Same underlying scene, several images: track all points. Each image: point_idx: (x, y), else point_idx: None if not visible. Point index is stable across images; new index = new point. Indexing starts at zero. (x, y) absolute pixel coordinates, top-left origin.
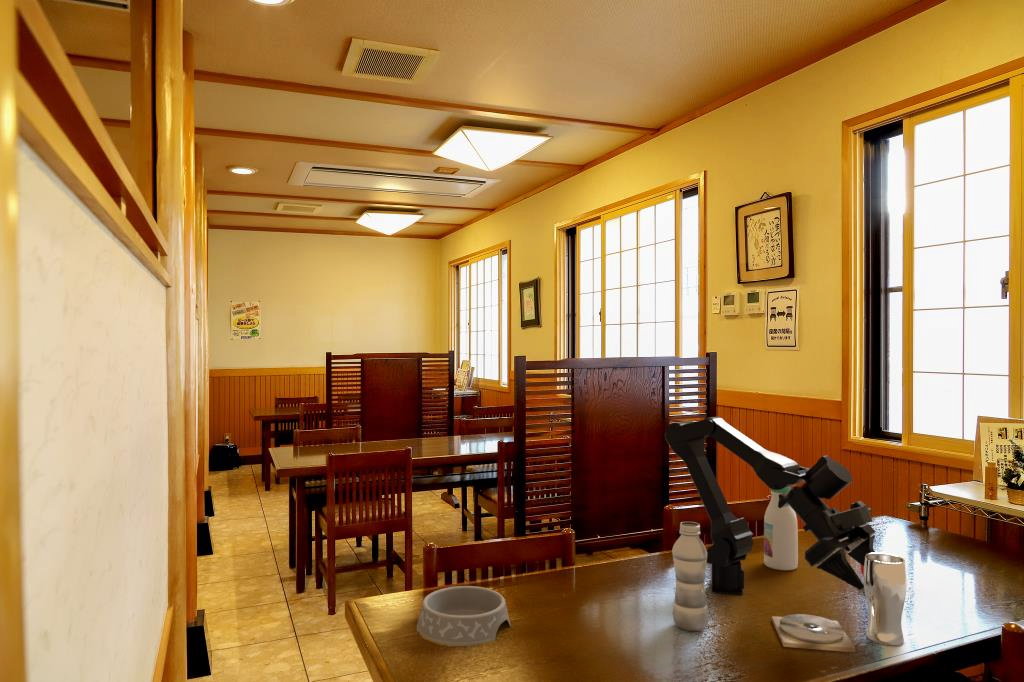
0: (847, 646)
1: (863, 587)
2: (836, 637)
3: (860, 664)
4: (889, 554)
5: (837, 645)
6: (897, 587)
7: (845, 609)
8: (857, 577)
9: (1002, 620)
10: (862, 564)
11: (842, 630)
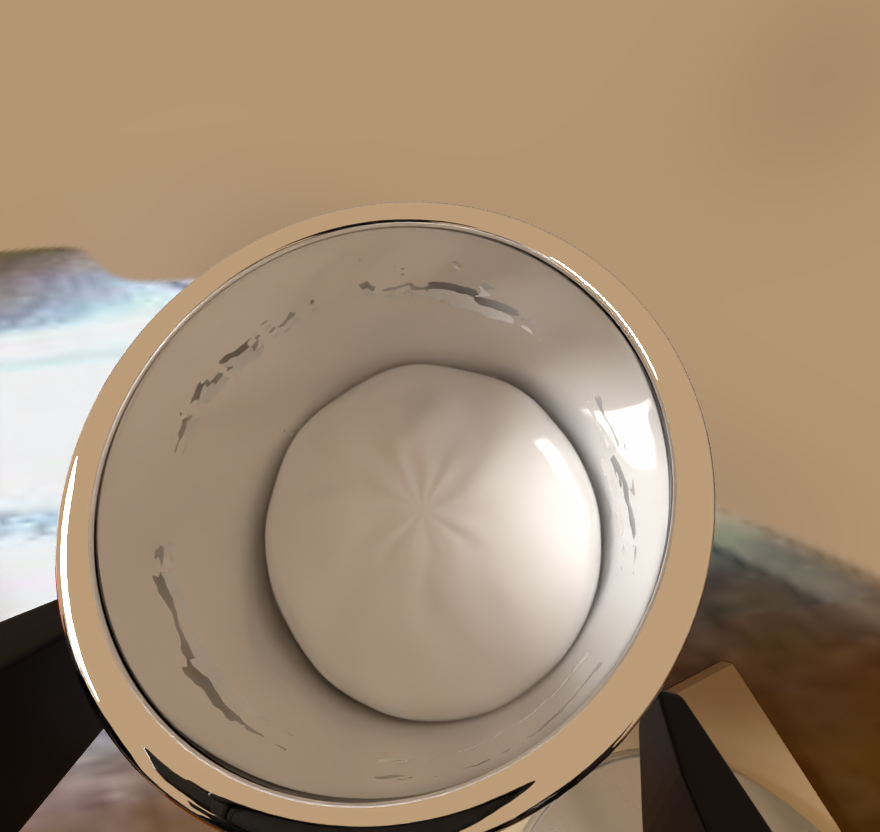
0: (750, 706)
1: (671, 694)
2: (762, 788)
3: (838, 616)
4: (110, 413)
5: (779, 763)
6: (549, 396)
7: (160, 811)
8: (734, 812)
9: (90, 268)
10: (14, 824)
11: (632, 769)
